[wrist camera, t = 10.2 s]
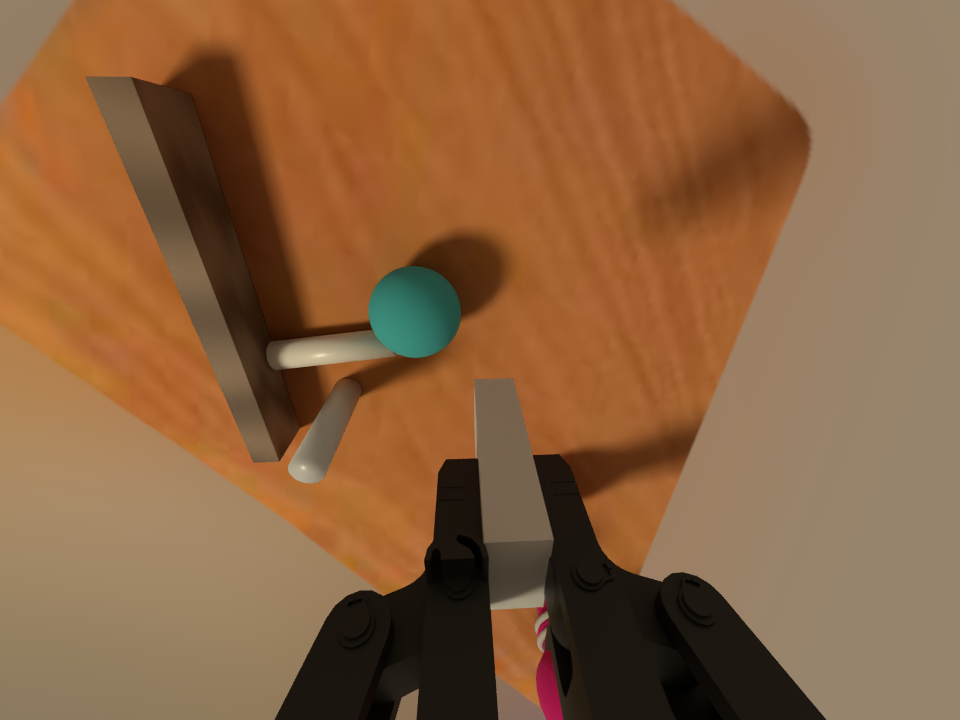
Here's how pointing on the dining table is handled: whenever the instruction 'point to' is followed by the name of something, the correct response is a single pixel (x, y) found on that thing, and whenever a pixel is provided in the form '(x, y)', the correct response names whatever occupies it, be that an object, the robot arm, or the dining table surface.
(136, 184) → the back wall
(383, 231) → the dining table surface
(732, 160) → the dining table surface
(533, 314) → the dining table surface
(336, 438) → the grey pin
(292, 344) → the ivory pin
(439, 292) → the ball
